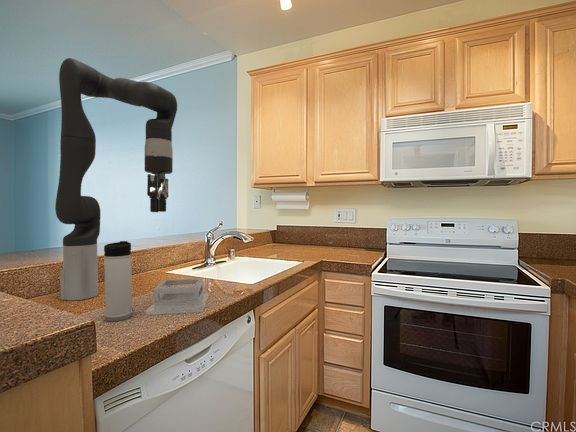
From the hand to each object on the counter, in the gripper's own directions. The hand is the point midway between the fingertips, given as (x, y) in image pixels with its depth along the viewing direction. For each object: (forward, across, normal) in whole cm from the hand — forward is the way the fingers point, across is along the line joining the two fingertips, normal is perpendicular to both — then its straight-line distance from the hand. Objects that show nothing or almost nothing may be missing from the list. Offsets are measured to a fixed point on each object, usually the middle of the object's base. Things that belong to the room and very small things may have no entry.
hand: (158, 211), depth 87 cm
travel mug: (+28, +8, -8) cm, 30 cm away
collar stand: (+28, 0, +6) cm, 28 cm away
